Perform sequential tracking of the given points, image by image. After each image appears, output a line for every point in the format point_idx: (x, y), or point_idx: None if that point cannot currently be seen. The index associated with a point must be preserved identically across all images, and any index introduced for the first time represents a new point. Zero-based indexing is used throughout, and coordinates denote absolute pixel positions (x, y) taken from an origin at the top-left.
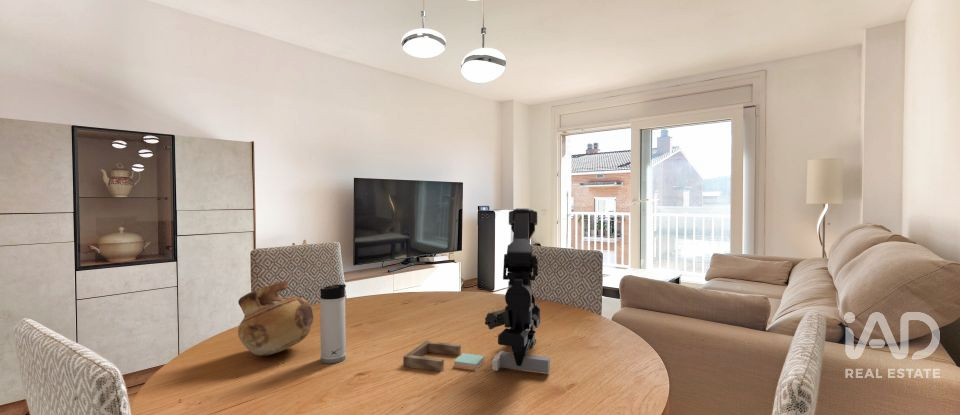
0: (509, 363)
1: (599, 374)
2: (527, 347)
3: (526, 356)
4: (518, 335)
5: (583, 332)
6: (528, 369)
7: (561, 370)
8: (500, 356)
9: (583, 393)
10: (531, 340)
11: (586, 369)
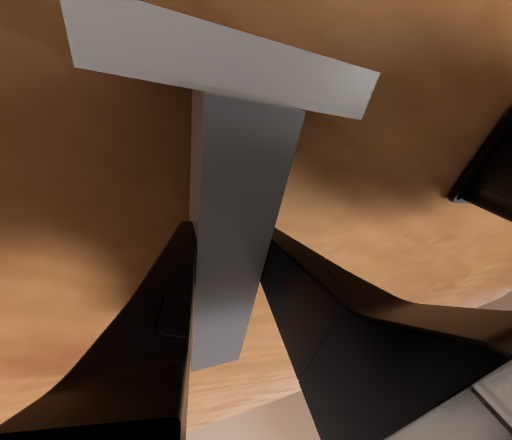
0: (194, 173)
1: (238, 370)
2: (163, 423)
3: (225, 294)
4: None
5: (475, 280)
6: None
7: (250, 315)
8: (202, 99)
9: None
10: (305, 397)
11: (265, 347)
